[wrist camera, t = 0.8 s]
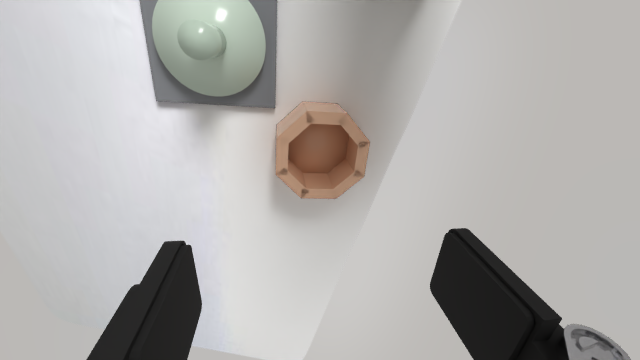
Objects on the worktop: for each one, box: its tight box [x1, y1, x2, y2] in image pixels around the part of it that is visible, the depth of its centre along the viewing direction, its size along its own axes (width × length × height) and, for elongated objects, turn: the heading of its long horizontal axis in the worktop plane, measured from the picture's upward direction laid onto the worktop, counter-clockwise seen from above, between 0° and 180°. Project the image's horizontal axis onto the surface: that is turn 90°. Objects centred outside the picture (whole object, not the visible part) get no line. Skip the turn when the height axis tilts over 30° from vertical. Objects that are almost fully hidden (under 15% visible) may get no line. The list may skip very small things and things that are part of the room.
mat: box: [140, 0, 277, 108], centre depth 27 cm, size 12×12×1 cm
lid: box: [152, 0, 266, 96], centre depth 24 cm, size 10×10×6 cm
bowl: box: [276, 101, 370, 199], centre depth 31 cm, size 10×10×5 cm
